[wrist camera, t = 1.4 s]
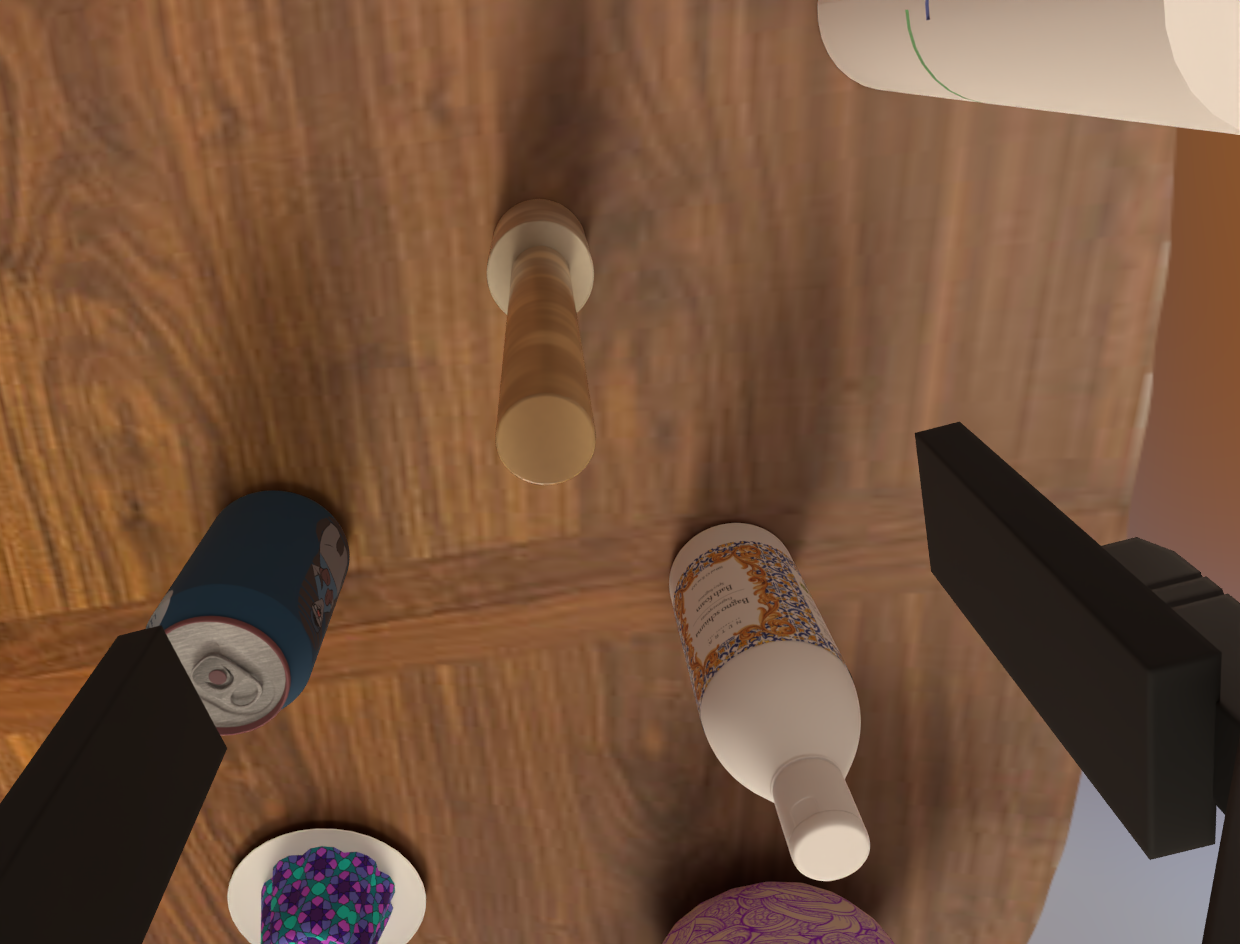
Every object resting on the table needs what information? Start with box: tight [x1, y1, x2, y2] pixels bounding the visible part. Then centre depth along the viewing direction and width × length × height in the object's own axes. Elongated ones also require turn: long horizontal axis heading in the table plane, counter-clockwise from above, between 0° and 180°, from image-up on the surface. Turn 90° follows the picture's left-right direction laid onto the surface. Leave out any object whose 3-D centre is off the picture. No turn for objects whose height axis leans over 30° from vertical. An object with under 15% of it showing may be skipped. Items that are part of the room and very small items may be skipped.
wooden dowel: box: [487, 199, 596, 485], centre depth 34 cm, size 4×4×24 cm
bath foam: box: [669, 523, 870, 881], centre depth 44 cm, size 7×7×20 cm
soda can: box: [146, 490, 349, 735], centre depth 44 cm, size 7×7×12 cm
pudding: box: [227, 829, 426, 944], centre depth 57 cm, size 12×12×5 cm
